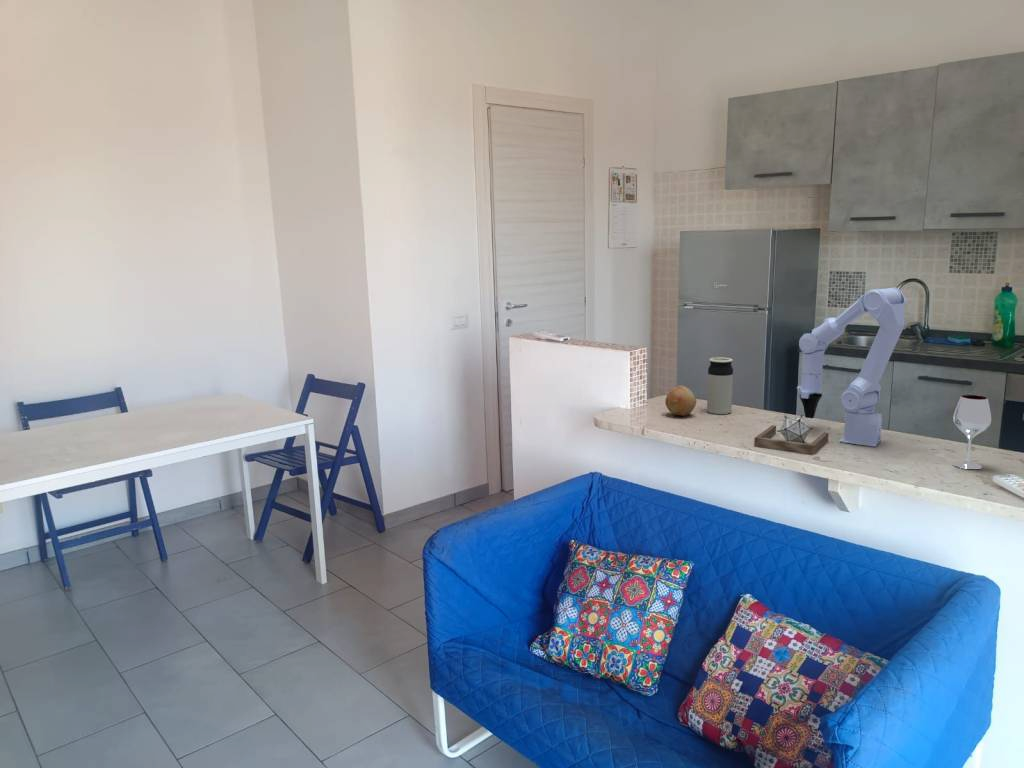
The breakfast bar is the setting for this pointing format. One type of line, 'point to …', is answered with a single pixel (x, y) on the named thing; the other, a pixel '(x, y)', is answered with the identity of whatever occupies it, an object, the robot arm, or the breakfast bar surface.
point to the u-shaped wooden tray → (788, 442)
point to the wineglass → (971, 422)
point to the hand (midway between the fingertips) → (809, 417)
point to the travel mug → (720, 386)
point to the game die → (794, 429)
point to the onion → (680, 401)
